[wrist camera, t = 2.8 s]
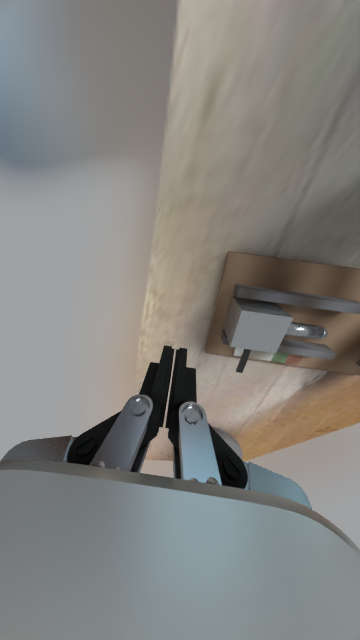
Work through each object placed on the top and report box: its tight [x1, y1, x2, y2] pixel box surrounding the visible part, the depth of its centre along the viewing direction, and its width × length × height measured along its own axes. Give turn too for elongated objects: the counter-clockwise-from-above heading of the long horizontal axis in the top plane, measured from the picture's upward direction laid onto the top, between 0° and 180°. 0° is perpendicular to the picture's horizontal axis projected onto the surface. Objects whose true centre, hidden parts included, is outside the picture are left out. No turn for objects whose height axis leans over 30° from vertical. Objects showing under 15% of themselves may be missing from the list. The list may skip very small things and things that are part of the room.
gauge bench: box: [205, 252, 360, 376], centre depth 18 cm, size 24×14×7 cm, turn 83°
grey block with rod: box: [224, 296, 328, 373], centre depth 19 cm, size 11×9×4 cm
